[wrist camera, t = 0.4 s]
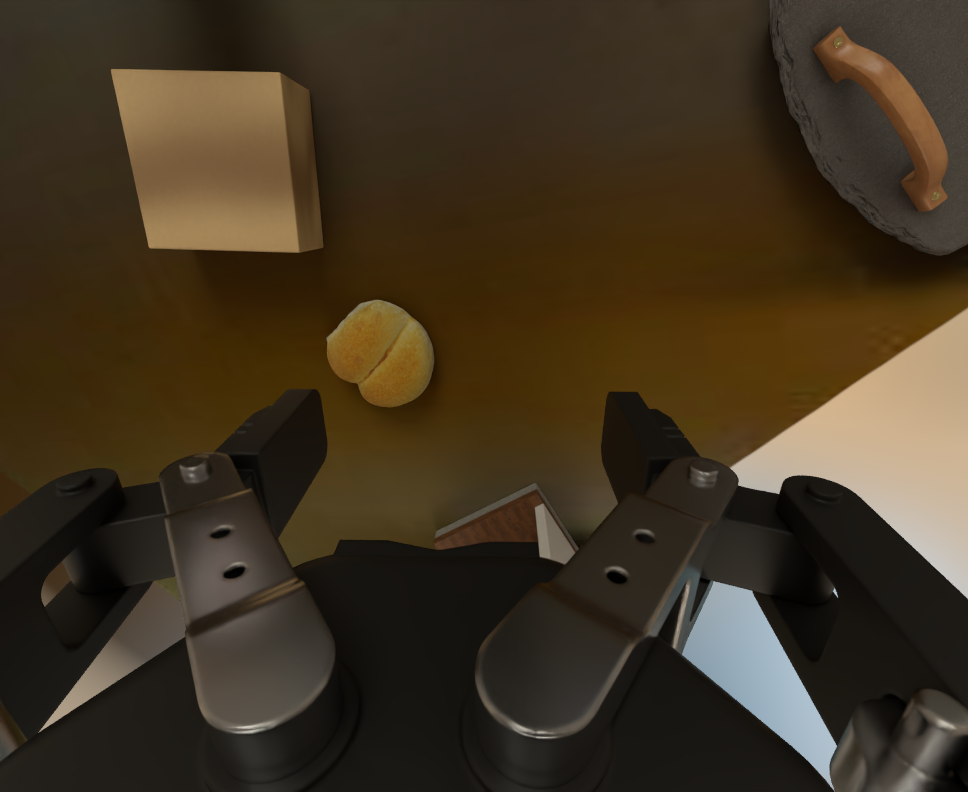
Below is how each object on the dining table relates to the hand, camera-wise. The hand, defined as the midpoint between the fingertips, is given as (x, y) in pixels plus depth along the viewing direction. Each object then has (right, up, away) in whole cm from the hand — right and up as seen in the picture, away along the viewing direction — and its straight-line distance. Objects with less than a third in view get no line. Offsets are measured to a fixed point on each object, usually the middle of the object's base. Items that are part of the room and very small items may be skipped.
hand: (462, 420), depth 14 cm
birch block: (-18, +18, +24) cm, 35 cm away
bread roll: (-8, +5, +29) cm, 30 cm away
